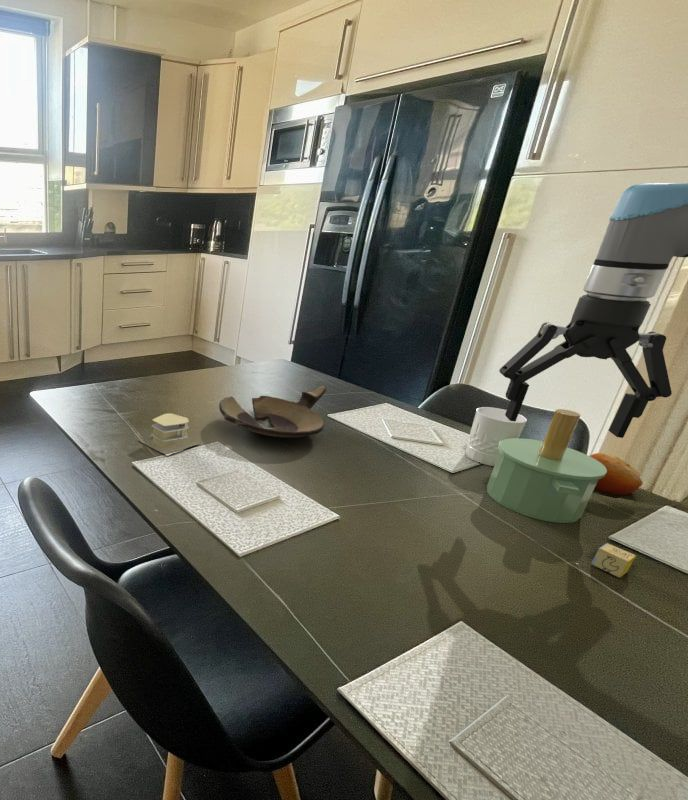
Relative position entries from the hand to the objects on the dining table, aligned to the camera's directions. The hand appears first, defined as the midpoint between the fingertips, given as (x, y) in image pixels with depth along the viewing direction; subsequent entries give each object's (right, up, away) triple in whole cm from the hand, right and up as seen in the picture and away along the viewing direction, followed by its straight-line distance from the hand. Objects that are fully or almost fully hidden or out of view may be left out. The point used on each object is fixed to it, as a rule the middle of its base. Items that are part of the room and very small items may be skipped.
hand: (561, 426), depth 80 cm
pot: (0, -14, +5) cm, 15 cm away
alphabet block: (-4, -20, -11) cm, 23 cm away
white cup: (+4, -8, +20) cm, 22 cm away
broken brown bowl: (-34, -3, +32) cm, 47 cm away
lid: (0, -6, +2) cm, 6 cm away
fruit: (+16, -13, +9) cm, 22 cm away
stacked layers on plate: (-61, -5, +25) cm, 66 cm away
